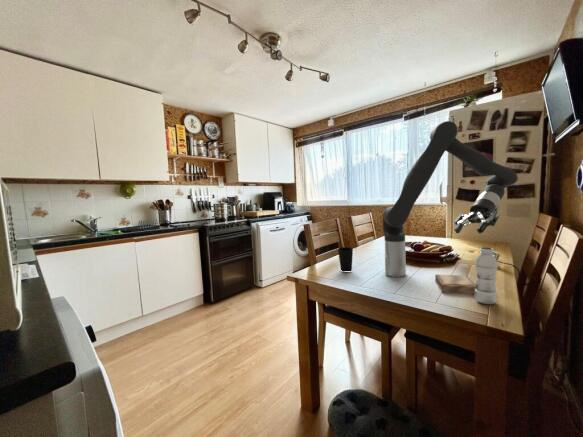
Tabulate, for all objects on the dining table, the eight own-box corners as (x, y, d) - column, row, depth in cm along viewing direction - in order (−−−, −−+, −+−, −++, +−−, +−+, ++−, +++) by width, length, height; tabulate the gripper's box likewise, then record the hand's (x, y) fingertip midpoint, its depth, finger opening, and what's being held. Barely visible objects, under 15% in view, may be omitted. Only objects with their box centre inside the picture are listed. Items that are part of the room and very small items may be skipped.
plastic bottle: (469, 299, 94) (470, 247, 91) (486, 297, 94) (487, 245, 92) (483, 307, 87) (485, 251, 85) (501, 305, 88) (503, 249, 85)
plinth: (442, 292, 101) (442, 284, 101) (435, 281, 112) (435, 274, 112) (477, 294, 97) (477, 286, 97) (466, 282, 109) (466, 275, 108)
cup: (354, 273, 129) (353, 250, 127) (338, 273, 131) (337, 251, 129) (353, 268, 136) (352, 247, 135) (339, 268, 138) (338, 247, 136)
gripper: (463, 200, 109) (445, 225, 104) (501, 195, 96) (482, 224, 91) (471, 213, 111) (454, 238, 106) (509, 210, 98) (492, 239, 93)
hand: (467, 231), depth 98 cm, fingers open, 8 cm apart
